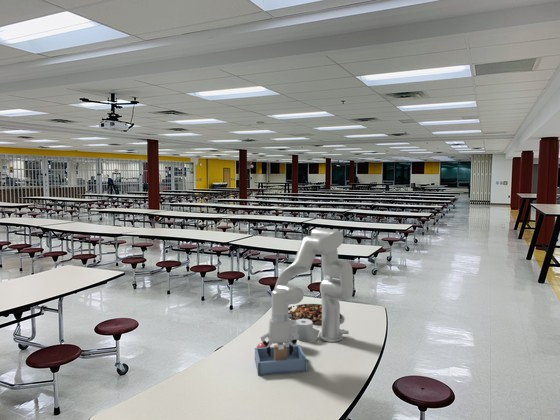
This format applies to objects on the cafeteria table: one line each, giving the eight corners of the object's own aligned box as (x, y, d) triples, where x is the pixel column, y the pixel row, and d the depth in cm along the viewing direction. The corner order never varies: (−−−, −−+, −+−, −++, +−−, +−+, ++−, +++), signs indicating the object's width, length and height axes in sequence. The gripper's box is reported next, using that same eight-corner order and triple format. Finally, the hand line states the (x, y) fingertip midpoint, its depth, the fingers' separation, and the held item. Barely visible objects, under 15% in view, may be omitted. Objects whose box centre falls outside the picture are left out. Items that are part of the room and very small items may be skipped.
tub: (299, 356, 184) (299, 345, 184) (306, 371, 169) (306, 359, 169) (254, 359, 181) (254, 348, 181) (258, 375, 166) (258, 363, 166)
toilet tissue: (319, 342, 201) (319, 326, 200) (293, 340, 203) (293, 324, 202) (320, 335, 210) (320, 319, 209) (295, 333, 212) (295, 318, 211)
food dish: (278, 325, 228) (278, 311, 228) (293, 308, 260) (292, 297, 260) (338, 329, 218) (338, 315, 218) (345, 311, 250) (345, 299, 250)
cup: (296, 349, 191) (297, 326, 191) (281, 348, 193) (281, 324, 192) (299, 343, 199) (299, 320, 198) (284, 342, 201) (284, 319, 200)
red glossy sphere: (268, 352, 189) (268, 340, 188) (269, 357, 183) (269, 345, 182) (255, 353, 188) (255, 340, 187) (257, 358, 182) (257, 346, 182)
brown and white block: (286, 365, 173) (286, 345, 172) (275, 366, 172) (275, 345, 172) (285, 360, 178) (285, 340, 177) (274, 361, 177) (274, 341, 177)
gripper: (297, 313, 179) (297, 349, 180) (259, 315, 176) (259, 352, 177) (300, 319, 171) (300, 356, 172) (261, 321, 168) (261, 359, 170)
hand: (279, 354), depth 175 cm, fingers open, 9 cm apart
